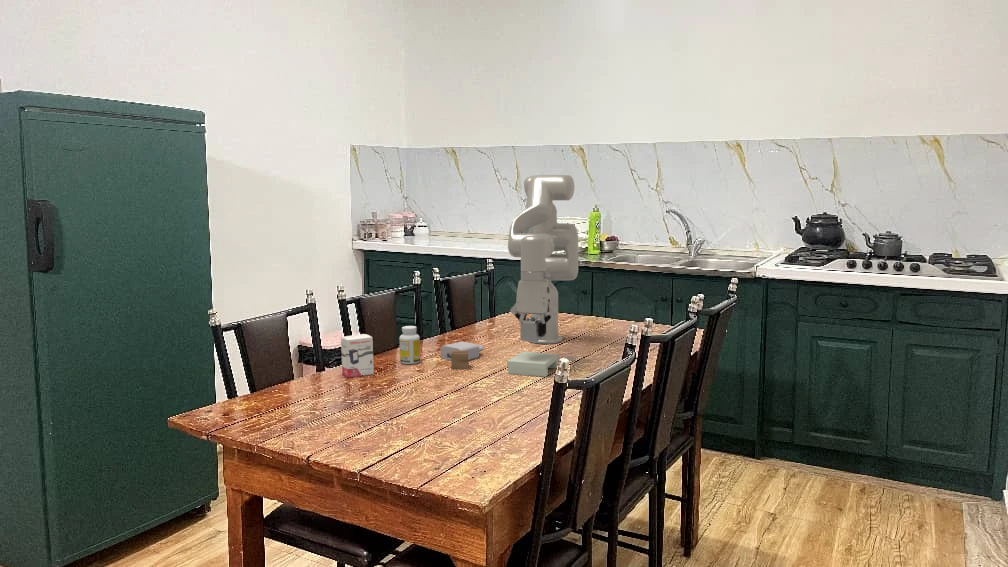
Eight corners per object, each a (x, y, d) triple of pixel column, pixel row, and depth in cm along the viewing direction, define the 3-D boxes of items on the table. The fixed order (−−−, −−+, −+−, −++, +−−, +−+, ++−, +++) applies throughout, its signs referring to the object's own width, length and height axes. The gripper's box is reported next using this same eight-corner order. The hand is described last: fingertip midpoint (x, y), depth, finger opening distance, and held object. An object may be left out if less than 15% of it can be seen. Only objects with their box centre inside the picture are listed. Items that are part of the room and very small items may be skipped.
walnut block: (452, 365, 255) (452, 350, 254) (468, 365, 255) (468, 350, 254) (451, 369, 250) (451, 354, 249) (467, 369, 250) (467, 353, 249)
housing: (530, 334, 252) (530, 314, 251) (545, 336, 250) (545, 315, 249) (520, 340, 243) (520, 318, 243) (536, 341, 242) (536, 319, 241)
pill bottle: (422, 360, 263) (421, 325, 261) (418, 365, 256) (417, 329, 255) (402, 360, 263) (401, 325, 262) (398, 364, 257) (397, 328, 255)
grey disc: (560, 359, 264) (560, 356, 264) (575, 360, 262) (575, 357, 262) (557, 362, 259) (557, 359, 259) (572, 363, 258) (572, 360, 258)
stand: (522, 363, 257) (522, 351, 256) (558, 366, 253) (558, 354, 252) (507, 373, 244) (507, 361, 243) (545, 377, 240) (545, 364, 239)
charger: (492, 355, 270) (460, 363, 259) (472, 351, 276) (440, 359, 265) (491, 341, 269) (460, 349, 258) (472, 337, 275) (440, 345, 264)
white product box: (348, 378, 241) (346, 339, 239) (341, 374, 245) (340, 336, 243) (374, 374, 245) (373, 336, 244) (367, 370, 249) (366, 333, 248)
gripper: (563, 276, 245) (563, 334, 247) (511, 274, 251) (511, 331, 253) (556, 279, 238) (556, 339, 240) (502, 277, 244) (503, 336, 246)
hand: (533, 334), depth 247 cm, fingers closed on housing, 5 cm apart
